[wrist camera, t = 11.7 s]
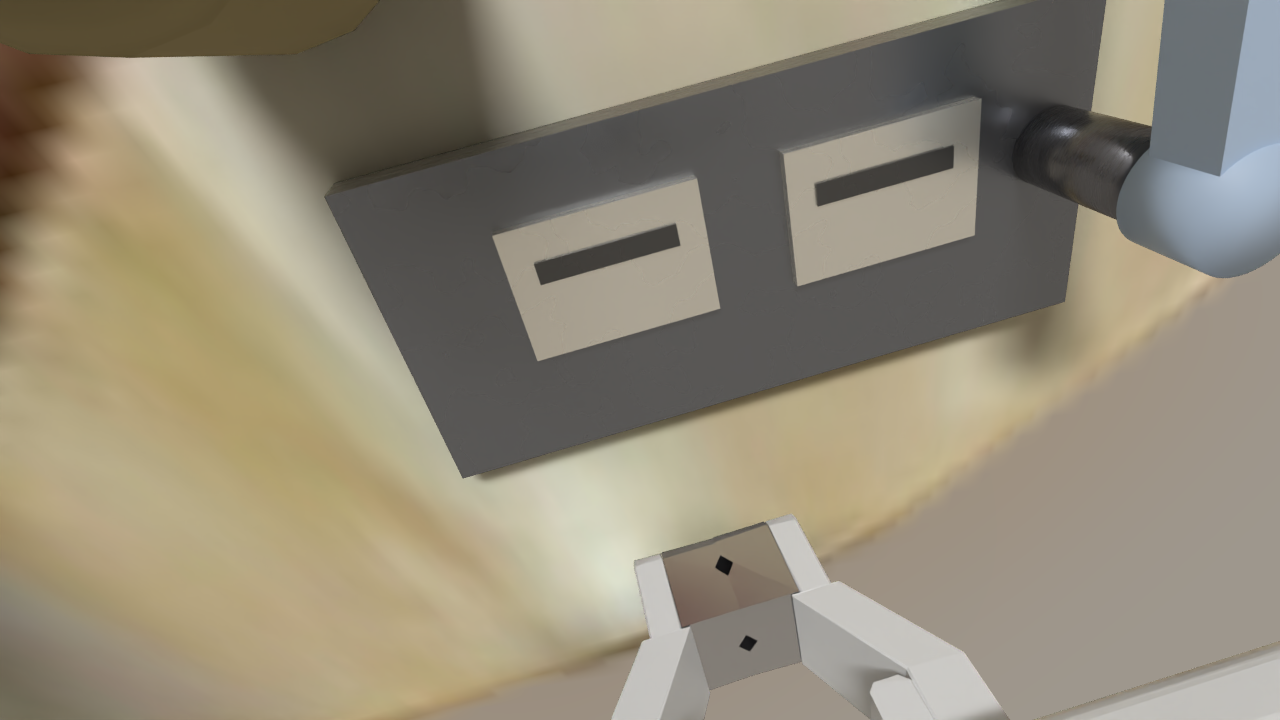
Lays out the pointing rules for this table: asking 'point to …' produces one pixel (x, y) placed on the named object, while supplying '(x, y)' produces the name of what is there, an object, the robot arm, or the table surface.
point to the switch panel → (741, 228)
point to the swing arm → (1212, 140)
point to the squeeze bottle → (176, 26)
